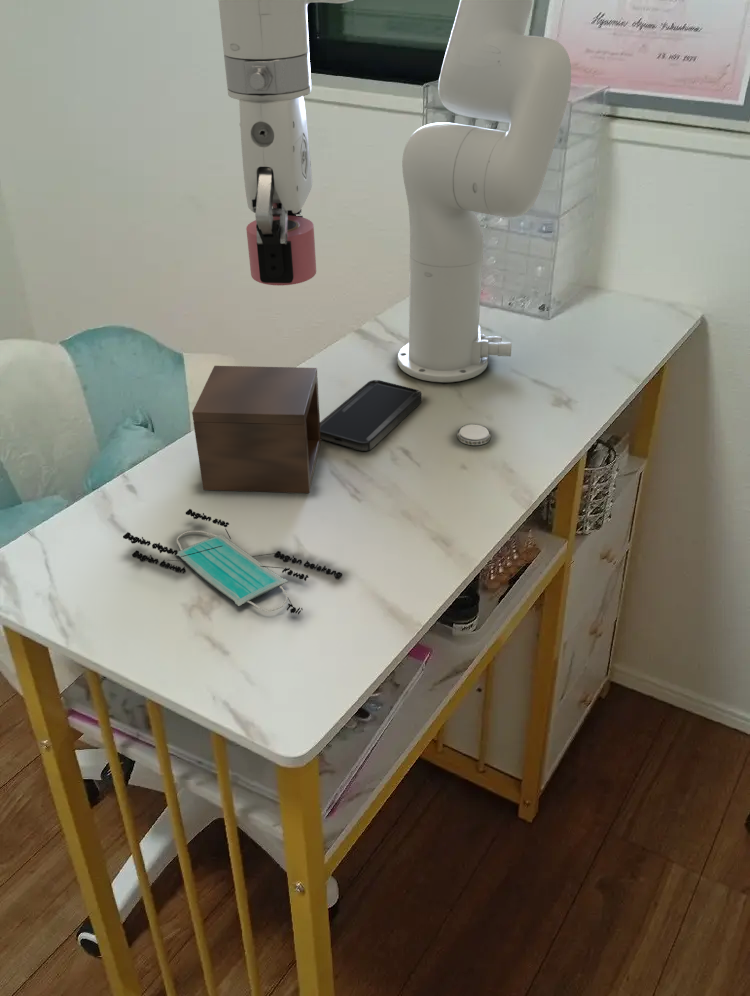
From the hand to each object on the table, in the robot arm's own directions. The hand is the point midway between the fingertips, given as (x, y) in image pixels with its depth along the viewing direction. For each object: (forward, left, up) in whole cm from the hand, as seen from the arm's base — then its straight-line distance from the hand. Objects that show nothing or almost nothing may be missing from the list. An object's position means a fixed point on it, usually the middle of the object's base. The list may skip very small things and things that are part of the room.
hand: (283, 266), depth 91 cm
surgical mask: (+4, +19, -24) cm, 31 cm away
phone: (-7, -12, -24) cm, 28 cm away
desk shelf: (+4, 0, -24) cm, 25 cm away
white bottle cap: (-20, -8, -24) cm, 33 cm away
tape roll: (0, 0, -1) cm, 1 cm away
